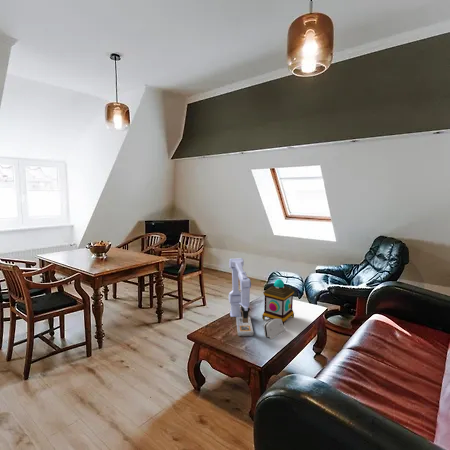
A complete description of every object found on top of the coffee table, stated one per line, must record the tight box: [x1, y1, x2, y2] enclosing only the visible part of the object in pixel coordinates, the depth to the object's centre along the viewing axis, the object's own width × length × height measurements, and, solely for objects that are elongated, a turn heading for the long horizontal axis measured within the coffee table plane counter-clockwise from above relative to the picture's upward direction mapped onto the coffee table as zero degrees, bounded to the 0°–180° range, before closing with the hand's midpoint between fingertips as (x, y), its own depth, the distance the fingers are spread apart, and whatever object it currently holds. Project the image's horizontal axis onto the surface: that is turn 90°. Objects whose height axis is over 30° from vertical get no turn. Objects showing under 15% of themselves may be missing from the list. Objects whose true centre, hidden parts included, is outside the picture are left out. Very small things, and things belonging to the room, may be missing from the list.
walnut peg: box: [241, 311, 249, 323], centre depth 198 cm, size 4×4×8 cm
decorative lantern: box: [261, 278, 295, 326], centre depth 216 cm, size 20×20×30 cm
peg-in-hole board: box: [235, 316, 254, 337], centre depth 205 cm, size 22×10×3 cm, turn 1°
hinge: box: [263, 319, 287, 340], centre depth 197 cm, size 17×5×10 cm, turn 132°
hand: (245, 316), depth 198 cm, fingers closed on walnut peg, 4 cm apart
